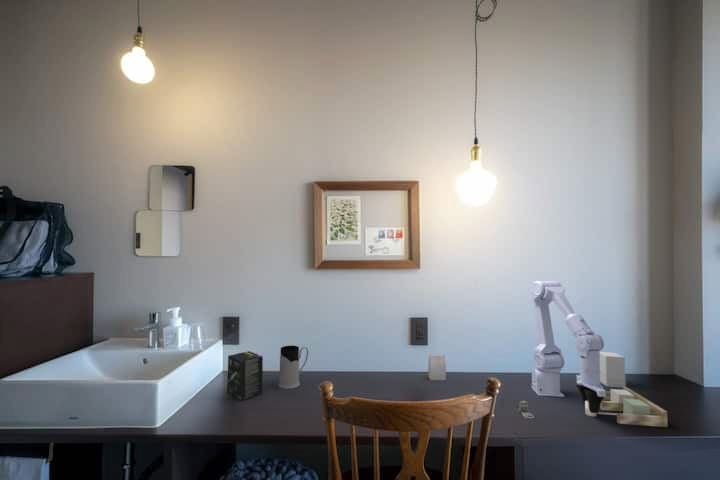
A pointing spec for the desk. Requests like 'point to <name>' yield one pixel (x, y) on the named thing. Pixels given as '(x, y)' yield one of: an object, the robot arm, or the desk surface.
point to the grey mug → (290, 366)
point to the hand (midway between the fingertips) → (590, 409)
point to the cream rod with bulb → (625, 408)
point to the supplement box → (612, 369)
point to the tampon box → (245, 375)
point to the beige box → (436, 367)
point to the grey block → (620, 395)
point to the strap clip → (524, 410)
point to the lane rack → (654, 419)
